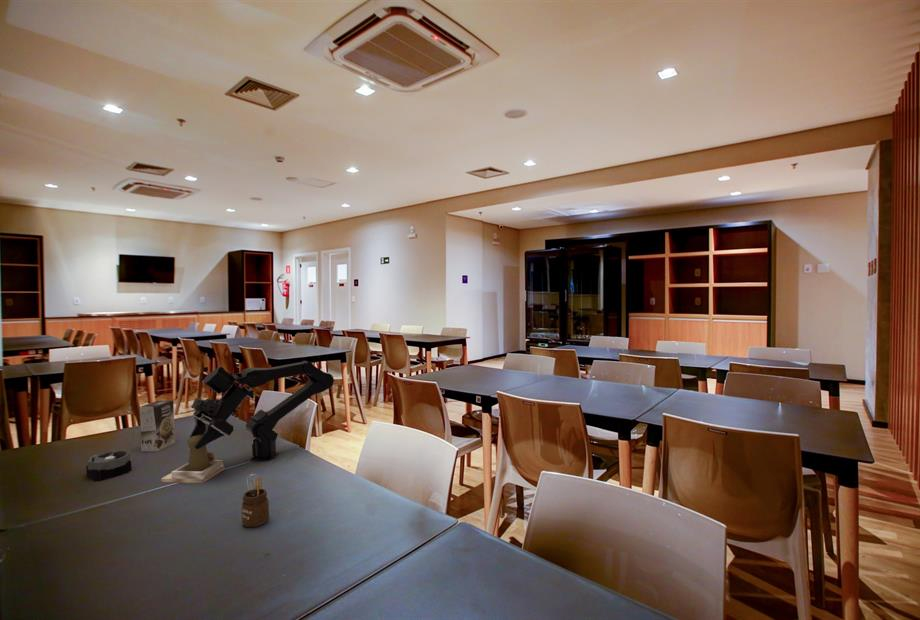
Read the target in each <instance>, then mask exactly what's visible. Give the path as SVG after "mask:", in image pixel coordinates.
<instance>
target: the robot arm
mask: <svg viewBox="0 0 920 620" xmlns="http://www.w3.org/2000/svg"><path fill="white" fill-rule="evenodd" d="M298 375H305V376H306V377H307V378H308V379H307V380H306V382H305V384H304V385H303V386H302V387H300V388H299V389H297V390H296V391H294V392H293V393H292V394H291V395H289V396H288V397H287V398H285V399H283V400H282V401H281V402H280V403H278V404H276V405H275V406H274V407H273V408H271V409H269V410H267V411H264V409H260V410H258V411H257V412H256V413H255V414H253V415H250V416H249V419H248V420H247V421H246V424H245V430H246V431H247V433H248V434H250V435H251V436H252V438H253V441H252V444H251V451H252V452H251V453H252V455H251V456H252V457H251V458H250V460H251V461H270V460H271V459H273V458H275V457H276V456H277V455H279V451H277V442H276V441H277V438H278V433H277V432H276V431H274V429H275V427H276V426H277V424H278V422H279V421H280V420H281V419H283V418H284V417H286V415H288V414H290V413H291V412H292V411H293V410H295V409H296V408H298V407H299V406H300V405H302V404H303V403H305V402H306V401H307V400H308V399H310V398H311V397H313V396H314V395H317V394H321V393H323V392H326V391H327V390H329V389H331V388H332V387H333V386H334V382H335V380H334V379H335V378H334V376H333V374H330V373H328V372H325V371H323V370H321V369H320V368H319V367H317V366H315V365H314V364H313V363H312V362H311V361H307V360H301V361H300V362H295V363H289V364H284V365H279V366H273V367H246V368H244V369H243V370H242V371H241V372H238V373H234V374H231V373H229V372H228V371H227V370H226V369H225V368H224V367H222V366H218V367H217V368H215V369H214V370H212V371H210V372H209V373H208V374H207V375H206V376H205V378H203V380H202V384H204V385H205V386H206V387H208V388H209V389H210V390H212V391H213V392H215V393H216V394H221V393H222V394H223V395H222V396H221V398H216V399H214V400H213V399H210V398H205V399H203V398H202V399H201V398H199V397H195V398H194V400H193V402H192V404H191V409H193V410H194V412H193V413H192V415H193V416H194V417H193V418H194V423H195V424H194V428H193V429H192V431H191V434H190V435H189V438H188V440H189V439H190V438H191V437H193V436H196V435H202V436H201V438H200V439H199V441H198V442H197V444H196V445H195V448H196V449H199V448H201V447H203V446H205V445H206V444H207V445H208V444H210V443H212V442H213V441H215V440H217V439H219V438H221V437H224V436H225V435H226V436H230V435H231V434H232V433H233V432H234V426H233V424H231V423H229V422H228V419H229V418H231V416H232V414H236V413H237V412H238V410H236V409H238V407H239V406H240V405H241V403H242V402H244V400H245V399H246V398H247V397H248V398H249V399H252V400H253V399H254V398H255V395H254V389H252V388H258V387H261V386H263V385H265V384H268V383H269V382H271V381H274V380H278V379H283V378H288V377H293V376H298ZM236 383H237V384H239V385H237V384H236ZM244 385H245V386H244ZM246 386H247V387H249V388H250V389H248V388H247V387H246ZM188 440H187V444H188ZM207 445H206V446H207Z"/></svg>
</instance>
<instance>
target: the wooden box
mask: <svg viewBox="0 0 920 620" xmlns="http://www.w3.org/2000/svg"><path fill="white" fill-rule="evenodd" d="M207 454H208V459H209V464H210V467H208V468H207V469H205V470H203V471H202V472H201V471H188V464H189V462H186V463H185V464H183V465H182V466H180V467H178V468H176V469H174V470H172V471H171V473H169V474H167V475H165V476H163V477H162V478H160V481H161V483H180V484H181V483H184V484H185V483H187V484H188V483H189V484H204V483H205V482H207V481H209V480H210V479H211V478H213V477H215V476H216V475H217V474H219V473H221V472H222V471H224V470H225V466H224V459H215V451H207Z"/></svg>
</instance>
